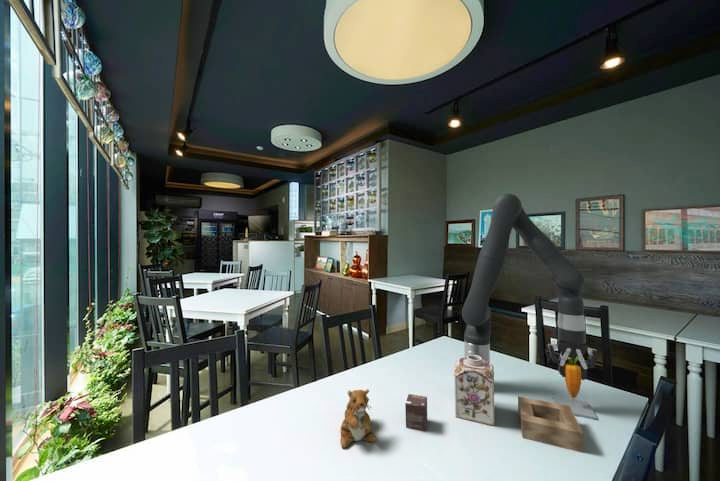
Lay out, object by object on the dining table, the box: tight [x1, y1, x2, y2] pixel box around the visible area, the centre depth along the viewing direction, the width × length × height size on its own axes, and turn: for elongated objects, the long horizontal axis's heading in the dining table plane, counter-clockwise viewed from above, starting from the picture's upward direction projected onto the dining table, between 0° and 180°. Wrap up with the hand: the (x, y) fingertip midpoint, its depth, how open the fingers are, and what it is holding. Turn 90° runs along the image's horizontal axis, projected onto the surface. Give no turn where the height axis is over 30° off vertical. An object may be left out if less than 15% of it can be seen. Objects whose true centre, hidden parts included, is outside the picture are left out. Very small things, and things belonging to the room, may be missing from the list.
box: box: [404, 393, 428, 432], centre depth 87 cm, size 6×6×7 cm
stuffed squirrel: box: [339, 388, 377, 448], centre depth 84 cm, size 10×14×13 cm
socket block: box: [517, 395, 584, 453], centre depth 84 cm, size 14×14×5 cm
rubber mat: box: [552, 395, 598, 421], centre depth 95 cm, size 10×10×1 cm
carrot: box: [564, 357, 582, 399], centre depth 95 cm, size 5×5×15 cm
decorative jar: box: [453, 355, 496, 426], centre depth 93 cm, size 12×12×18 cm
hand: (572, 377), depth 95 cm, fingers closed on carrot, 5 cm apart
